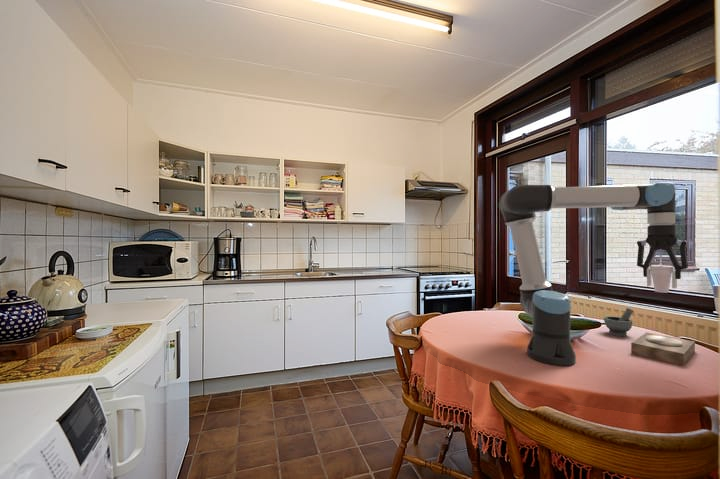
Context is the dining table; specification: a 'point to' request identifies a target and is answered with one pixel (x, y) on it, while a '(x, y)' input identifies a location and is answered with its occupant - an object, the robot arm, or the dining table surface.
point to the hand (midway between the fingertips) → (661, 286)
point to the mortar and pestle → (619, 323)
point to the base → (663, 348)
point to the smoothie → (661, 276)
